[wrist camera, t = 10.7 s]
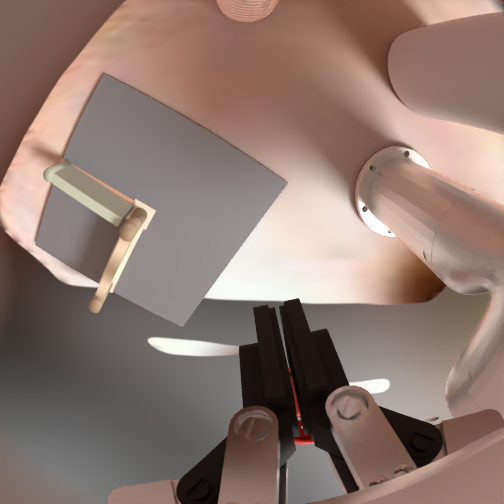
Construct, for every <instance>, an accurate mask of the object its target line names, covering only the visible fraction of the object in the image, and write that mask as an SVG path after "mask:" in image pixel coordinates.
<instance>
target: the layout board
mask: <svg viewBox="0 0 504 504" xmlns="http://www.w3.org/2000/svg"><path fill="white" fill-rule="evenodd" d="M65 160H67V161H69V162H70V163H71V165H72V166H74V167H75V168H77V169H78V170H80V171H81V172H83V173H84V174H86V175H88V176H89V177H91V178H92V179H94V180H95V181H97V182H98V183H100V184H101V185H103V186H104V187H106V188H107V189H109V190H110V191H112V192H113V193H115V194H116V195H118V196H120V197H121V198H123V199H124V200H126V201H127V202H129V203H130V204H132V205H133V207H132V208H131V210H130V212H129V213H128V215H127V216H126V217H125V218H124V220H123V221H122V222H121V223H120V224H119V226H118V227H117V226H115V225H114V224H112V223H111V222H109V221H108V220H106V219H104V218H103V217H101V216H100V215H98V214H97V213H95V212H94V211H92V210H91V209H89V208H88V207H86V206H85V205H83V204H82V203H80V202H79V201H77V200H76V199H74V198H73V197H71V196H70V195H68V194H67V193H65V192H64V191H63V190H61V189H60V188H58V187H57V186H55V185H54V184H53V186H52V189H51V192H50V195H49V198H48V201H47V205H46V208H45V211H44V215H43V218H42V221H41V225H40V229H39V232H38V236H37V240H36V244H35V245H36V246H38V247H40V248H41V249H43V250H44V251H46V252H47V253H49V254H50V255H52V256H54V257H55V258H57V259H58V260H60V261H62V262H63V263H65V264H66V265H68V266H70V267H71V268H73V269H75V270H76V271H78V272H80V273H81V274H83V275H85V276H86V277H88V278H90V279H92V280H93V281H95V282H97V283H99V284H98V286H99V285H100V282H101V280H102V278H103V275H104V273H105V271H106V268H107V266H108V264H109V262H110V259H111V257H112V255H113V253H114V250H115V248H116V246H117V244H118V242H119V240H120V236H119V231H120V229H121V228H122V226H123V225H124V224H125V222H126V221H127V220H128V219H129V217H130V216H131V215H132V213H133V212H134V211H135V210H136V209H137V208H143V209H145V210H146V212H147V218H146V220H145V221H144V223H143V225H142V226H141V228H140V229H139V231H138V232H137V234H136V236H135V237H134V239H133V240H132V242H131V244H130V246H129V248H128V250H127V252H126V254H125V256H124V259H123V261H122V263H121V265H120V267H119V269H118V271H117V273H116V275H115V278H114V280H113V282H112V283H113V285H112V287H111V289H110V291H109V292H111V293H112V292H115V293H117V294H118V295H120V296H122V297H124V298H126V299H128V300H129V301H132V302H133V303H135V304H137V305H139V306H141V307H143V308H145V309H147V310H149V311H151V312H153V313H155V314H157V315H159V316H161V317H163V318H165V319H167V320H169V321H171V322H173V323H175V324H177V325H179V326H181V327H183V325H184V324H185V323H186V321H187V320H188V319H189V317H190V316H191V315H192V313H193V312H194V310H195V309H196V307H197V306H198V305H199V303H200V302H201V301H202V299H203V298H204V296H205V295H206V294H207V292H208V291H209V290H210V288H211V287H212V285H213V284H214V283H215V281H216V280H217V279H218V277H219V276H220V274H221V273H222V272H223V270H224V269H225V268H226V266H227V265H228V263H229V262H230V261H231V259H232V258H233V257H234V255H235V254H236V252H237V251H238V250H239V248H240V247H241V246H242V244H243V243H244V242H245V240H246V239H247V237H248V236H249V235H250V233H251V232H252V231H253V229H254V228H255V227H256V225H257V224H258V222H259V221H260V220H261V218H262V217H263V216H264V214H265V213H266V212H267V210H268V209H269V208H270V206H271V205H272V204H273V202H274V201H275V199H276V198H277V197H278V195H279V194H280V193H281V191H282V190H283V189H284V187H285V186H286V185H287V183H288V182H287V181H285V180H284V179H282V178H281V177H279V176H278V175H276V174H275V173H274V172H272V171H271V170H269V169H268V168H266V167H265V166H263V165H262V164H260V163H259V162H257V161H256V160H254V159H253V158H251V157H249V156H248V155H246V154H245V153H243V152H242V151H240V150H239V149H237V148H236V147H234V146H232V145H231V144H229V143H228V142H226V141H224V140H223V139H221V138H220V137H218V136H216V135H215V134H213V133H212V132H210V131H208V130H207V129H205V128H203V127H202V126H200V125H198V124H197V123H195V122H193V121H192V120H190V119H188V118H186V117H185V116H183V115H181V114H180V113H178V112H176V111H174V110H173V109H171V108H169V107H167V106H166V105H164V104H162V103H160V102H158V101H157V100H155V99H153V98H151V97H149V96H148V95H146V94H144V93H142V92H140V91H138V90H136V89H134V88H133V87H131V86H129V85H127V84H125V83H123V82H121V81H119V80H117V79H115V78H113V77H111V76H109V75H107V74H104V75H103V76H102V78H101V80H100V82H99V84H98V85H97V87H96V89H95V91H94V93H93V95H92V96H91V98H90V100H89V102H88V104H87V106H86V108H85V110H84V112H83V114H82V116H81V118H80V120H79V122H78V125H77V127H76V129H75V131H74V133H73V136H72V138H71V140H70V142H69V145H68V147H67V150H66V152H65V154H64V157H63V158H61V159H60V161H59V163H60V162H63V161H65Z"/></svg>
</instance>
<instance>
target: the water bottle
mask: <svg viewBox="0 0 504 504" xmlns="http://www.w3.org/2000/svg"><path fill="white" fill-rule="evenodd" d="M216 1H217V5H218V7H219V9H220V10H221V12H222V13H223V14H224V15H226V16H227V17H228V18H230V19H232V20H235V21H239V22H255V21H258V20H261V19H263V18H265V17H266V16H268V15H269V14H270V13H271V12H272V11H273V10H274V8H275V7H276V5H277V3H278V1H279V0H216Z"/></svg>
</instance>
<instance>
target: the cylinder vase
mask: <svg viewBox="0 0 504 504" xmlns="http://www.w3.org/2000/svg"><path fill="white" fill-rule="evenodd" d="M387 65H388V73H389V78H390V81H391V84H392V86H393V88H394V90H395V92H396V94H397V95H398V97H399V98H400V100H401V101H402V102H403V103H404V104H405V105H406V106H407V107H408V108H409V109H410V110H412V111H413V112H415V113H416V114H418V115H421V116H424V117H428V118H434V119H439V120H445V121H450V122H455V123H459V124H464V125H468V126H473V127H477V128H481V129H485V130H489V131H493V132H496V133H500V134H504V12H498V13H491V14H483V15H477V16H471V17H465V18H460V19H455V20H450V21H446V22H441V23H437V24H433V25H429V26H425V27H421V28H417V29H414V30H410V31H407V32H404V33H402V34H401V35H399V36H398V37H397V38H396V39H395V40H394V42H393V43H392V45H391V47H390V50H389V53H388V62H387Z"/></svg>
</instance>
